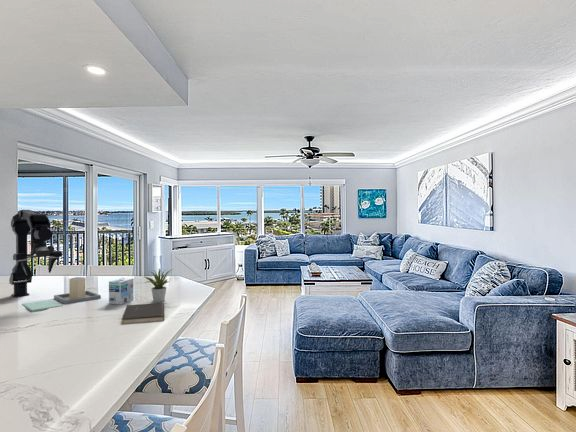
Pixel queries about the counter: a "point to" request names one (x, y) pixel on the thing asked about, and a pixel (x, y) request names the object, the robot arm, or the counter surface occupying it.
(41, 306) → the mat
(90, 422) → the counter surface
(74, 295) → the carton
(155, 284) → the house plant
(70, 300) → the parts tray
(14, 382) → the counter surface
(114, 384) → the counter surface
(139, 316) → the hardcover book
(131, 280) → the light bulb box
